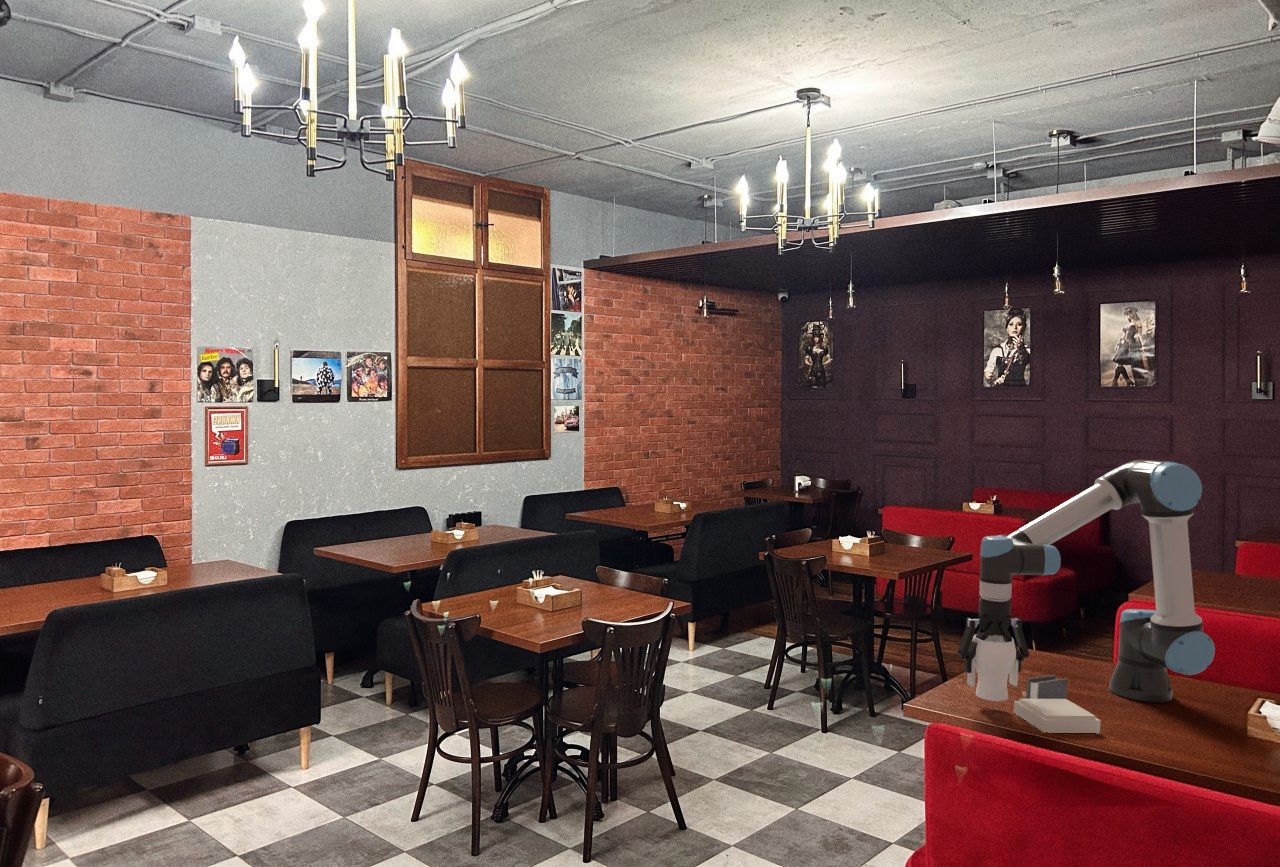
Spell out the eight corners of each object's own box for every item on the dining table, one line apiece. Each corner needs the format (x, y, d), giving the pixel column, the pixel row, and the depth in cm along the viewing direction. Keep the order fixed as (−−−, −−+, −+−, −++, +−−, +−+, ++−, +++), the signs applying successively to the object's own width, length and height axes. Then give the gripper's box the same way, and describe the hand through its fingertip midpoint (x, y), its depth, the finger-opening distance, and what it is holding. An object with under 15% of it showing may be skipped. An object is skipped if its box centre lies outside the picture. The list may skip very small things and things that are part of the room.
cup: (1018, 705, 228) (1020, 644, 227) (972, 701, 230) (974, 641, 229) (1010, 691, 238) (1012, 633, 237) (966, 688, 240) (968, 631, 240)
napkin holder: (1052, 701, 243) (1054, 674, 243) (1065, 705, 239) (1067, 679, 239) (1025, 705, 238) (1027, 678, 238) (1038, 710, 235) (1040, 683, 235)
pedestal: (1066, 713, 233) (1067, 697, 233) (1099, 733, 219) (1100, 717, 219) (1013, 713, 232) (1014, 697, 231) (1043, 733, 218) (1044, 717, 217)
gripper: (1030, 594, 238) (1027, 679, 239) (944, 595, 235) (942, 681, 236) (1046, 601, 230) (1043, 688, 231) (957, 601, 228) (955, 690, 229)
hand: (992, 684), depth 234 cm, fingers closed on cup, 11 cm apart
